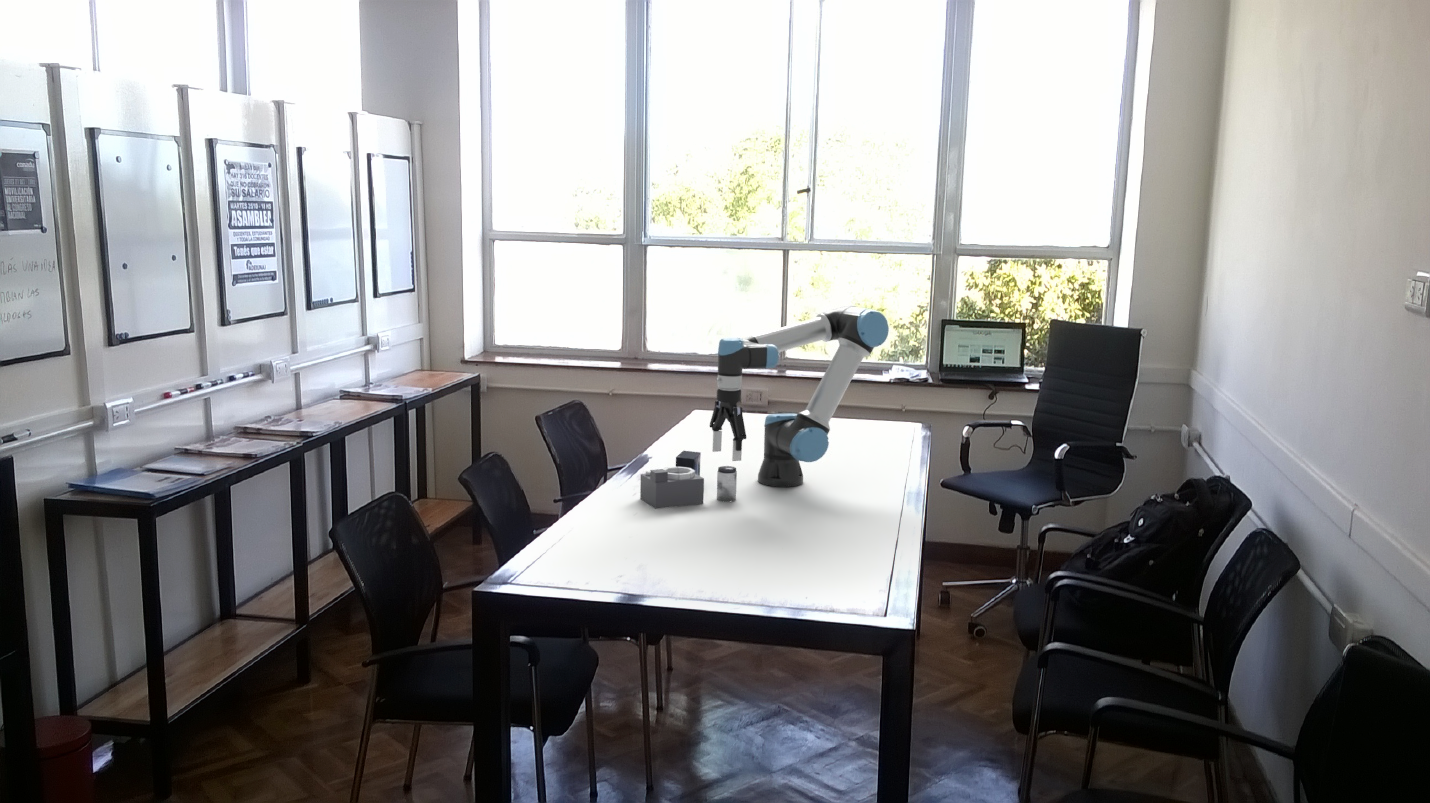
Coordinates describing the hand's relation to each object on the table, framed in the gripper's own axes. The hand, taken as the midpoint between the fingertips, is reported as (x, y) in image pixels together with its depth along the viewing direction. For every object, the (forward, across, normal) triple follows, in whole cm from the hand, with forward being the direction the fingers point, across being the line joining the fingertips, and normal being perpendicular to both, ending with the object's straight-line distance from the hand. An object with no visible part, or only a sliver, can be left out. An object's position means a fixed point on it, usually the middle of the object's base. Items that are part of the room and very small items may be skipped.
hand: (726, 456), depth 341 cm
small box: (+14, -20, -4) cm, 25 cm away
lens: (+14, 0, 0) cm, 14 cm away
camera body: (+14, -4, -16) cm, 22 cm away
